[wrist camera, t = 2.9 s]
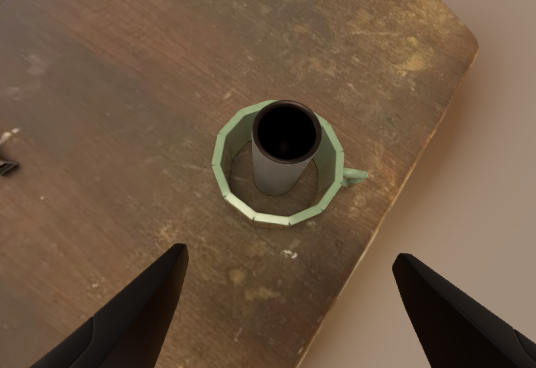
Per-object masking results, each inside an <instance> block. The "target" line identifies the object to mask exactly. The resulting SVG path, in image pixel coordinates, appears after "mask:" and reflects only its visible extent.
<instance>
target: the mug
mask: <svg viewBox="0 0 536 368" xmlns="http://www.w3.org/2000/svg"><path fill="white" fill-rule="evenodd" d="M275 101H277V100H271V101H270V100H268V101H265V102H262V103H259V104H255V105H252V106H249V107H246V108H243V109H241V111H238V112H237V114H236V115H235V116H234V117H233V118H232V119H231V120H230V121H229V122H228V123H227V124H226V125H225V126H224V127H223V128H222V130H221V131H220V132H219V134H218V136H217V141H216V145H215V150H214V155H213V160H212V168H213V171H214V174H215V176H216V179H217V182H218V185H219V187H220V190H221V193H222V195H223V197H224V198H225V200H226V201H227V203H228V204H229V205H230V207H231V208H232V209H233V210H234V211H236V212H237V213H238V214H239V215H241V216H242V217H243V218H244V219H246V220H247V221H248V222H249V223H251V224H252V225H253V224H254V225H255V226H261V227H268V228H275V229H284V228H286V227H289V226H291V225H294V224H296V223H298V222H301V221H303V220H305V219H308V218H310V217H313V216H315V215H317V214H320V213H322V211H324V210H325V209H326V207H327V206H328V204H329V203H330V201H331V200H332V199H333V197H334V196H335V194H336V193H337V191H338V190H339V189H340V187H341V186H342V187H352V186H354V185H356V184H358V183H360V182H361V181H363V180H365V179H366V178H367V177H368V173H367V172H366V171H365V170H359V169H353V168H346V167H343V165H344V152H343V148H342V146H341V144H340V143H339V141H338V139H337V137H336V135H335V133H334V131H333V129H332V127H331V125H330V124H328V122H327V121H326V120H324V119H323V118H322V117H320V116H319V115H317V114H316V113H314V114H315V115H316V116H317V118H318V120H319V122H320V124H321V128H322V141H321V144H320V147H319V149H318V150H317V152H316V153H315V155H314V156H313V160H314V162H315V164H316V167H317V169H318V171H319V175H318V188H317V195H316V196H315V198H314V199H313V200H312V202H311V203H310V204H309V206H308V207H307V209H306V210H304V211H301V212H299V213H297V214H294V215H292V216H289V217H285V216H278V215H271V214H264V213H257V212H255V211H254V210H253V209H251V208H250V207H249V206H247V205H246V204H245V203H244V202H242V201H241V200H240V199H238V198H237V197H236V196H235V195H233V193H232V190H231V188H230V185H229V182H228V179H229V174H230V169H231V163H232V159H233V157H234V156H235V155H236V154H237V153H238V152H239V151H240V149H241V148H242V147H243V146H244V145H245V144H246V143H247V142H249V141H252V124H253V121H254V118H255V117H256V115H257V113H258V112H259V111H260V110H261V109H262V108H263V107H265V106H266V105H268V104H270V103H272V102H275ZM343 177H345V178H343Z"/></svg>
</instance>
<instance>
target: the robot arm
mask: <svg viewBox="0 0 536 368" xmlns="http://www.w3.org/2000/svg"><path fill="white" fill-rule="evenodd" d="M188 261H189V256H188V250H187V245H186V244H182V243H176V244H174V245H173V246H172V247H171V248H170V249H168V250H167V251H166V252H165V253H164V254H163V255H162V256H160V257H159V258H158V259H157V260H156V261H155V262H154V263H152V264H151V265H150V266H149V267H148V268H147V269H146V270H144V271H143V272H142V273H141V274H140V275H139V276H138V277H136V278H135V279H134V280H133V281H132V282H131V283H130V284H128V285H127V286H126V287H125V288H124V289H123V290H122V291H120V292H119V293H118V294H117V295H116V296H115V297H114V298H112V299H111V300H110V301H109V302H108V303H107V304H106V305H104V306H103V307H102V308H101V309H100V310H99V311H97V312H96V313H95V314H94V317H91V318H89V319H88V320H87V321H86V322H85V323H84V324H82V325H81V326H80V327H79V328H78V329H77V330H75V331H74V332H73V333H72V334H71V335H70V336H68V337H67V338H66V339H65V340H64V341H62V342H61V343H60V344H59V345H57V346H56V347H55V348H54V349H52V350H51V351H50V352H49V353H47V354H46V355H45V356H44V357H42V358H41V359H40V360H38V361H37V362H36V363H35V364H33V365H32V366H31V367H29V368H154V367H155V364H156V361H157V358H158V356H159V353H160V350H161V348H162V345H163V342H164V339H165V337H166V334H167V331H168V329H169V326H170V323H171V320H172V318H173V315H174V312H175V309H176V307H177V304H178V301H179V297H180V294H181V290H182V286H183V282H184V278H185V274H186V270H187V266H188ZM392 271H393V274H394V277H395V280H396V283H397V286H398V289H399V292H400V295H401V298H402V301H403V303H404V306H405V309H406V311H407V314H408V316H409V318H410V320H411V323H412V325H413V327H414V329H415V332H416V334H417V336H418V338H419V341H420V343H421V345H422V347H423V350H424V352H425V354H426V356H427V359H428V361H429V363H430V365H431V368H536V344H535V343H534V342H532V341H531V340H530V339H528V338H527V337H525V336H524V335H523V334H521V333H520V332H519V331H517V330H515V329H513V327H512V326H510V325H509V324H507V323H506V322H505V321H503V320H502V319H500V318H499V317H498V316H496V315H495V314H493V313H492V312H491V311H489V310H488V309H486V308H485V307H484V306H482V305H481V304H480V303H478V302H477V301H475V300H474V299H473V298H471V297H470V296H468V295H467V294H466V293H464V292H463V291H461V290H460V289H459V288H457V287H456V286H455V285H453V284H452V283H450V282H449V281H448V280H446V279H445V278H443V277H442V276H441V275H439V274H438V273H436V272H435V271H434V270H432V269H431V268H430V267H428V266H427V265H425V264H424V263H423V262H421V261H420V260H418V259H417V258H416V257H414V256H413V255H411V254H408V253H400V254H399V255H398V256H397V258H396V260H395V262H394V264H393V266H392Z"/></svg>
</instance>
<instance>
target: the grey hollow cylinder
mask: <svg viewBox="0 0 536 368" xmlns="http://www.w3.org/2000/svg"><path fill="white" fill-rule="evenodd" d="M321 141H322V128H321V124H320V122H319V120H318V118H317V116H316V115H315V114H314V112H313V111H312V110H310V109H309V108H308V107H307V106H305V105H303V104H301V103H299V102H295V101H291V100H280V101H275V102H272V103H270V104H268V105H266V106H265V107H263V108H262V109H261V110H260V111H259V112H258V113H257V115H256V117H255V118H254V121H253V124H252V157H253V178H254V182H255V184H256V186H257V188H258V189H259V190H260V191H261V192H262V193H264V194H266V195H268V196H281V195H283V194H285V193H287V192H288V191H289V190H290V189H291V188H292V187H293V185H294V184H295V182H296V181H297V180H298V178H299V177H300V175H301V174H302V172H303V171H304V169H305V168H306V166H307V165H308V164H309V162H310V161H311V159H312V158H313V156H314V155H315V153H316V152H317V150H318V149H319V147H320V144H321Z"/></svg>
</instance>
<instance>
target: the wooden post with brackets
mask: <svg viewBox="0 0 536 368" xmlns="http://www.w3.org/2000/svg"><path fill="white" fill-rule="evenodd" d="M15 165H17V163H15V162H14V161H6V160H4V159H2V158H0V175H1V174H3V173H4V172H6V171H7V170H9V169H10V168H12V167H13V166H15Z"/></svg>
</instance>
